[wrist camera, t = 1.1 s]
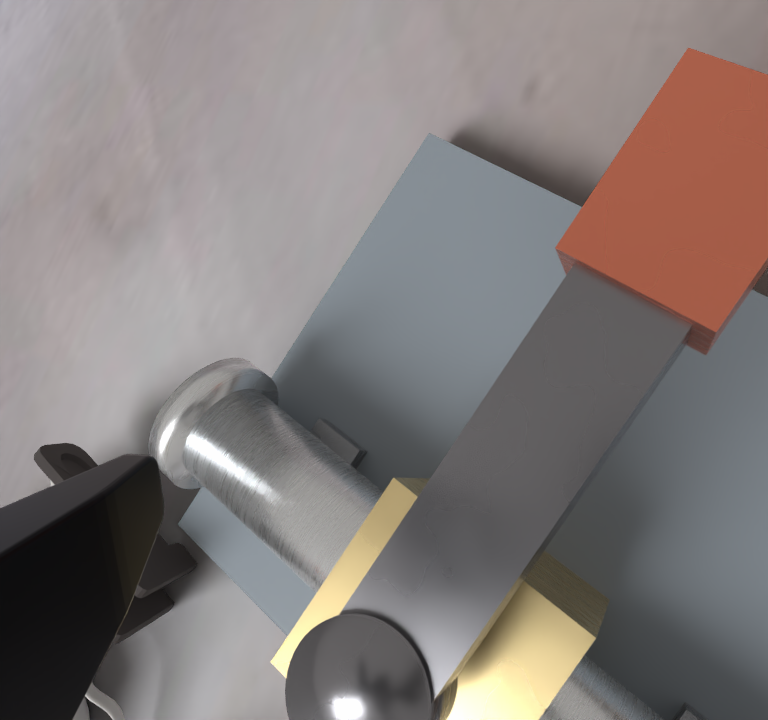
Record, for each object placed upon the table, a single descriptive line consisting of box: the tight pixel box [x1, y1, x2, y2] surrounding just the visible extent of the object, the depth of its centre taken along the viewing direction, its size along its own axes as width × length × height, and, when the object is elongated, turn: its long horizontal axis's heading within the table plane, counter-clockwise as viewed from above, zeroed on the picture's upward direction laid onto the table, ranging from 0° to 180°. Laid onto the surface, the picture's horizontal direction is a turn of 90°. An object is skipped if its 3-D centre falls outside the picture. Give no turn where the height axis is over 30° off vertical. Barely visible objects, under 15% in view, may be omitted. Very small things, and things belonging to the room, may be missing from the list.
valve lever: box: [285, 48, 768, 720], centre depth 13 cm, size 15×3×2 cm, turn 144°
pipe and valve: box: [148, 358, 708, 720], centre depth 17 cm, size 22×6×7 cm, turn 54°
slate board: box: [178, 133, 768, 720], centre depth 21 cm, size 22×18×2 cm
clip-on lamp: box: [34, 443, 197, 720], centre depth 24 cm, size 12×6×18 cm
